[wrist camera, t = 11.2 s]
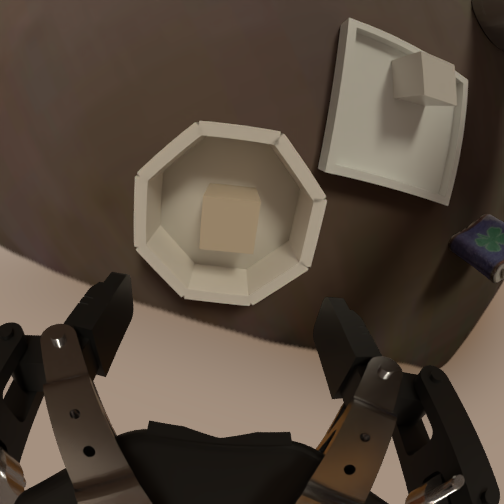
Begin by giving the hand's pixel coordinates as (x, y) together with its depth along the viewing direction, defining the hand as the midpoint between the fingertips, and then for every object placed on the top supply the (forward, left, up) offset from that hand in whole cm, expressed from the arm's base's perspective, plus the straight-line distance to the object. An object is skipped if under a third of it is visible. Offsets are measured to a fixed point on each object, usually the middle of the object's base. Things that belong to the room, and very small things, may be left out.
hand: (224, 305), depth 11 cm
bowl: (0, 0, -15) cm, 15 cm away
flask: (-31, -2, -16) cm, 35 cm away
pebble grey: (-15, -16, -14) cm, 26 cm away
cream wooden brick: (0, 0, -15) cm, 15 cm away
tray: (-15, -12, -15) cm, 24 cm away
